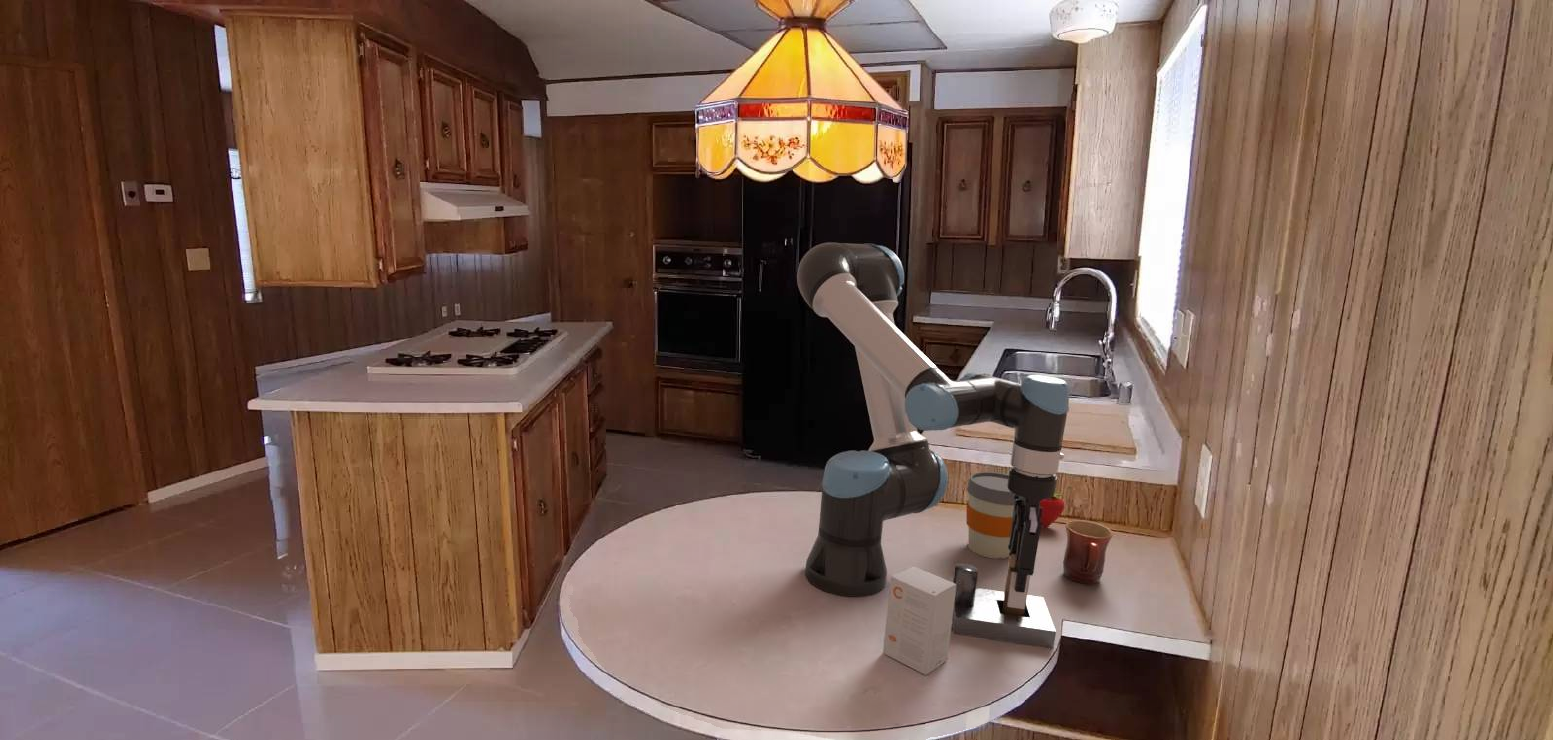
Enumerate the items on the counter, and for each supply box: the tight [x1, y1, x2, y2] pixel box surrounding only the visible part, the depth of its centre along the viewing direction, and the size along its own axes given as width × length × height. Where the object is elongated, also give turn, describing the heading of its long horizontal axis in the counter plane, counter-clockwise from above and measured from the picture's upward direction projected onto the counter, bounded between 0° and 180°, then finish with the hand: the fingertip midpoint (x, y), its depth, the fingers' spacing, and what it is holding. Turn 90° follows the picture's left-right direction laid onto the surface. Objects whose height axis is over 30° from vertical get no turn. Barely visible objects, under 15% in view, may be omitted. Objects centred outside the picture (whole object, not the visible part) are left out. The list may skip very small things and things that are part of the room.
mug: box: [1062, 519, 1114, 585], centre depth 155 cm, size 12×9×10 cm
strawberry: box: [1040, 492, 1065, 528], centre depth 181 cm, size 6×8×10 cm
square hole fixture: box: [952, 563, 1057, 649], centre depth 136 cm, size 16×12×9 cm
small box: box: [882, 566, 956, 676], centre depth 123 cm, size 8×6×13 cm
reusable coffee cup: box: [966, 471, 1015, 559], centre depth 166 cm, size 13×13×15 cm
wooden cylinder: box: [1002, 554, 1031, 617], centre depth 135 cm, size 4×4×12 cm
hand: (1014, 601), depth 136 cm, fingers closed on wooden cylinder, 3 cm apart
